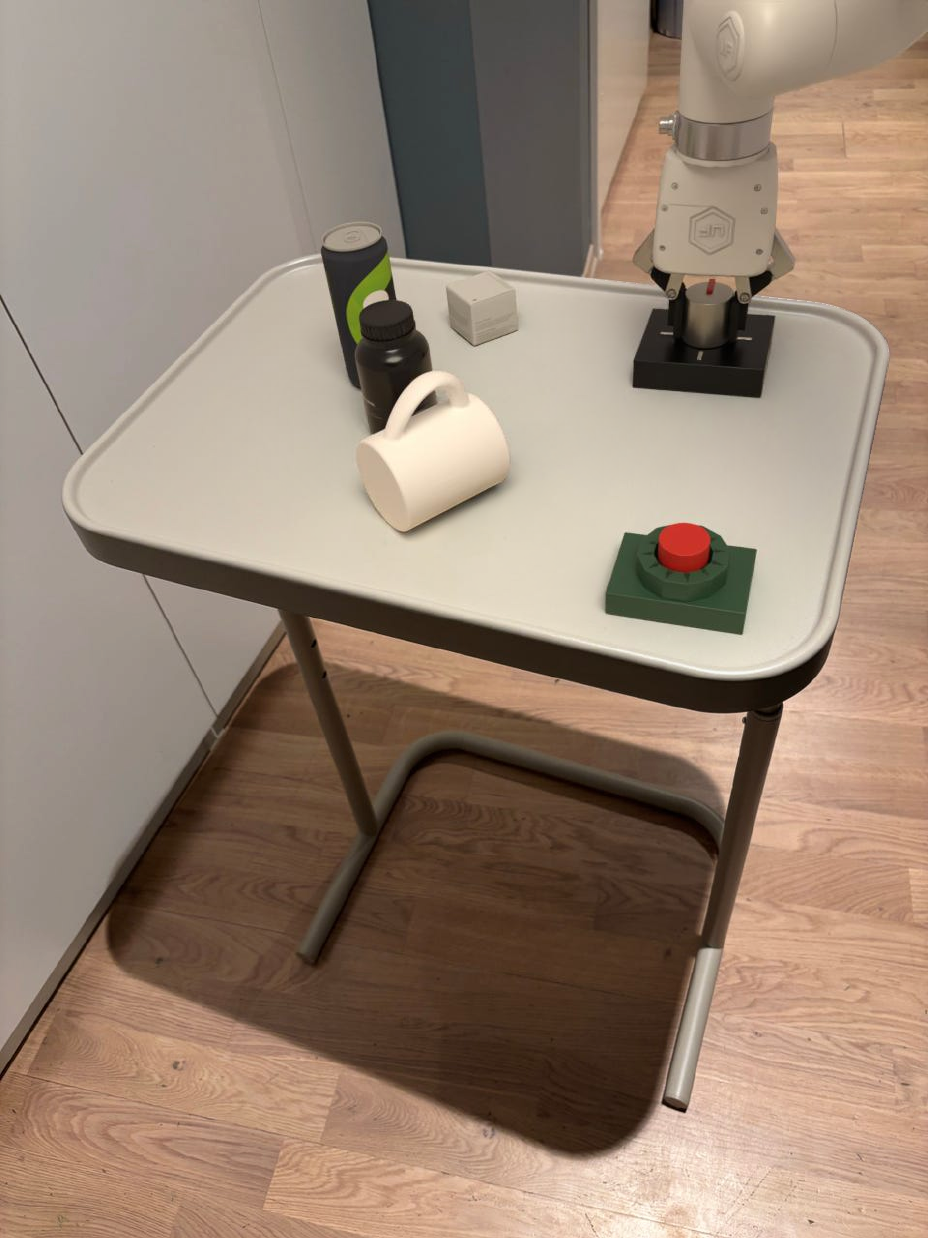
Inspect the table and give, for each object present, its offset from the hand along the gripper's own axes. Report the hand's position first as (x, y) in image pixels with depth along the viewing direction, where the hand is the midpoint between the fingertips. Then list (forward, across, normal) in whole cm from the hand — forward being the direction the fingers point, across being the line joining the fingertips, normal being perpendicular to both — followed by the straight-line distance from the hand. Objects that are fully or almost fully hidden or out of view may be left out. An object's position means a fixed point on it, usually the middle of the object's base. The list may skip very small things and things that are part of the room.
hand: (706, 331), depth 90 cm
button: (0, +3, -32) cm, 32 cm away
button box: (+3, +3, -32) cm, 32 cm away
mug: (+4, -19, -25) cm, 32 cm away
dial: (0, 0, 0) cm, 0 cm away
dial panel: (+4, 0, 0) cm, 4 cm away
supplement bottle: (+4, -26, -15) cm, 30 cm away
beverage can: (+4, -32, -7) cm, 33 cm away
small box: (+4, -24, +4) cm, 25 cm away
